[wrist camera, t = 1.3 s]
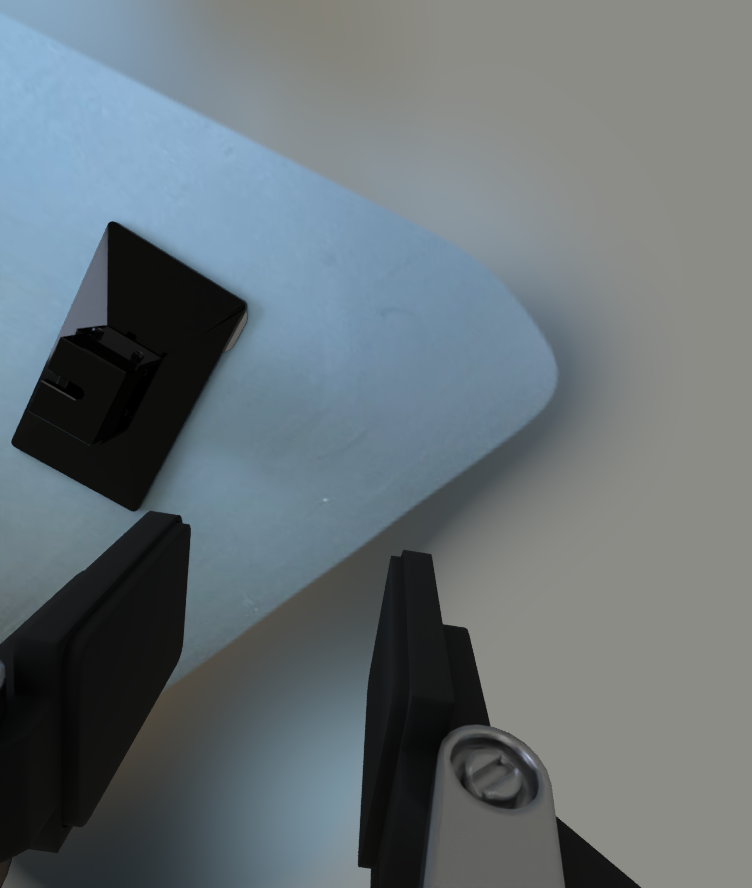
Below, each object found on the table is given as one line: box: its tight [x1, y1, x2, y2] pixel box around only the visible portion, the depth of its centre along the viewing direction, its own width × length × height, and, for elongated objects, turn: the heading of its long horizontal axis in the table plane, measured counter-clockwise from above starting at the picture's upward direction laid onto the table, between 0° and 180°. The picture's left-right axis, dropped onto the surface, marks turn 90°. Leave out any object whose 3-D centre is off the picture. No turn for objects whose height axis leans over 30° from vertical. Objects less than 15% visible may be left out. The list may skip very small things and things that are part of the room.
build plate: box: [11, 221, 247, 512], centre depth 25 cm, size 12×7×5 cm, turn 148°
